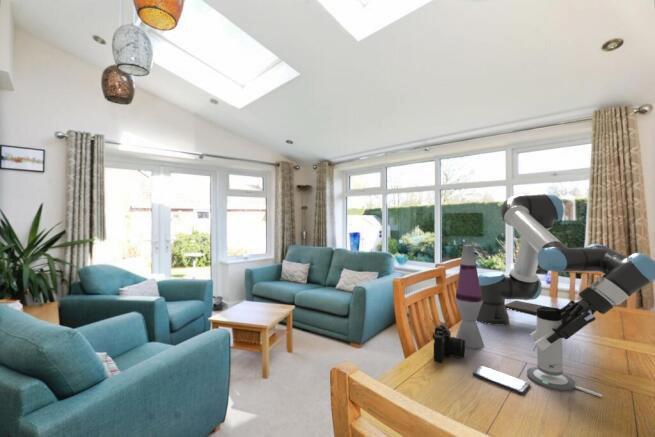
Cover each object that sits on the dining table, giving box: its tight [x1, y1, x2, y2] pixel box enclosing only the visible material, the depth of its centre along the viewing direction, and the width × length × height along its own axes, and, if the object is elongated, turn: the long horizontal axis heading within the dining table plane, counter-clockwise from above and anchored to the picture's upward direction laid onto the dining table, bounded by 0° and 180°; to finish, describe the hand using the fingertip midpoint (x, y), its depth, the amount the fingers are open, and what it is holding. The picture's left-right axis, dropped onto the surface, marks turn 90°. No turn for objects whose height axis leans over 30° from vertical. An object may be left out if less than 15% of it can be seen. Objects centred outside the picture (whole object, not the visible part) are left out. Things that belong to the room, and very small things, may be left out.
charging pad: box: [526, 366, 603, 398], centre depth 90 cm, size 18×12×1 cm
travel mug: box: [536, 306, 564, 376], centre depth 92 cm, size 6×7×20 cm
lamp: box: [454, 244, 485, 350], centre depth 120 cm, size 11×11×40 cm
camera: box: [432, 323, 466, 364], centre depth 109 cm, size 14×11×10 cm
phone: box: [472, 365, 531, 396], centre depth 92 cm, size 14×7×1 cm, turn 40°
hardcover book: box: [505, 300, 548, 316], centre depth 161 cm, size 16×23×2 cm
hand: (536, 342), depth 93 cm, fingers closed on travel mug, 6 cm apart
